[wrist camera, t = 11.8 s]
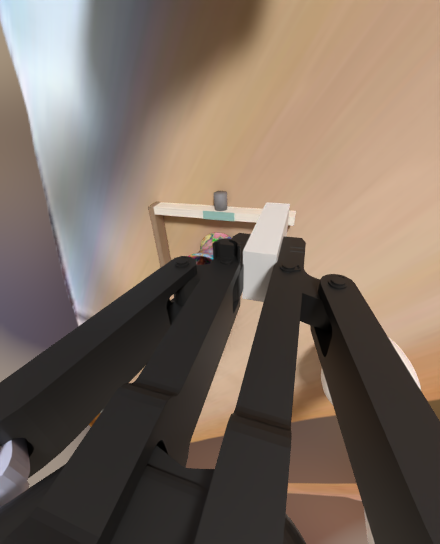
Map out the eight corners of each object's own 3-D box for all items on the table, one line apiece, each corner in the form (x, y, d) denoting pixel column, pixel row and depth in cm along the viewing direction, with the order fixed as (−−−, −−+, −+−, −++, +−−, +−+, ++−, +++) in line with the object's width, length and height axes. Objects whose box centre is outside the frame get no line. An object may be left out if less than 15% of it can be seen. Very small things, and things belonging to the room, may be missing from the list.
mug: (229, 274, 58) (214, 304, 49) (194, 252, 57) (173, 279, 49) (257, 235, 50) (245, 262, 42) (217, 209, 50) (197, 232, 42)
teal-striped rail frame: (152, 187, 51) (144, 191, 49) (298, 194, 44) (296, 200, 41) (169, 276, 64) (163, 284, 61) (285, 294, 56) (284, 303, 53)
